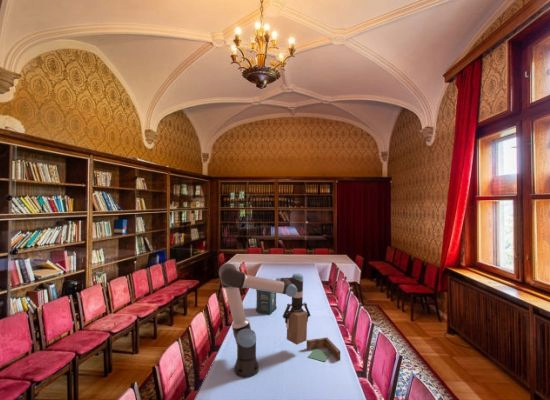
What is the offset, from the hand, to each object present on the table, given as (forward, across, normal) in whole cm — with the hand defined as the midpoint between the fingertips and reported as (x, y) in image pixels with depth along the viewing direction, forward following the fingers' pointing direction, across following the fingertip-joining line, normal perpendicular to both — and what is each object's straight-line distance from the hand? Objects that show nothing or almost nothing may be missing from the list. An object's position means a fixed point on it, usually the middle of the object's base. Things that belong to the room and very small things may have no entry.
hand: (296, 327), depth 209 cm
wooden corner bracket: (+17, +17, -8) cm, 25 cm away
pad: (+17, +14, -9) cm, 24 cm away
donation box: (+17, -2, +78) cm, 80 cm away
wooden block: (+9, 0, 0) cm, 9 cm away
